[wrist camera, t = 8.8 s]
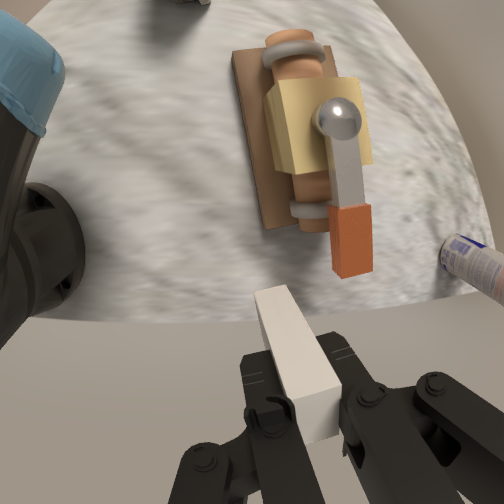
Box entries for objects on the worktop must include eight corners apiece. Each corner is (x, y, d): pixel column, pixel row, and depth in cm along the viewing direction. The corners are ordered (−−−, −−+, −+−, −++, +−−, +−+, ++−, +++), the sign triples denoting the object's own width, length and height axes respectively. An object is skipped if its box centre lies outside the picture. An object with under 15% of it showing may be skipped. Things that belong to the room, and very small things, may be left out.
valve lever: (362, 261, 22) (374, 270, 20) (328, 268, 22) (339, 279, 20) (346, 101, 18) (359, 96, 16) (308, 102, 18) (318, 97, 16)
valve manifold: (263, 225, 30) (283, 252, 21) (231, 57, 24) (238, 19, 15) (350, 207, 30) (395, 227, 22) (323, 51, 24) (361, 20, 16)
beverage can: (441, 276, 35) (511, 323, 21) (435, 245, 34) (514, 289, 19) (464, 255, 35) (533, 295, 21) (458, 225, 33) (536, 260, 19)
